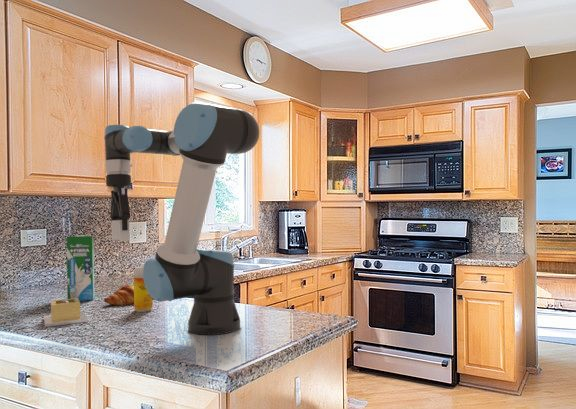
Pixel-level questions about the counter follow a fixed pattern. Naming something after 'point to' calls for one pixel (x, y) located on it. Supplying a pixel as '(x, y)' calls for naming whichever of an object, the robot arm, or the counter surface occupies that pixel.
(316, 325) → the counter surface
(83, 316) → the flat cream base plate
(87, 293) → the milk carton
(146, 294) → the yellow bottle
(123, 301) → the croissant
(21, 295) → the counter surface
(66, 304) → the yellow hollow block
